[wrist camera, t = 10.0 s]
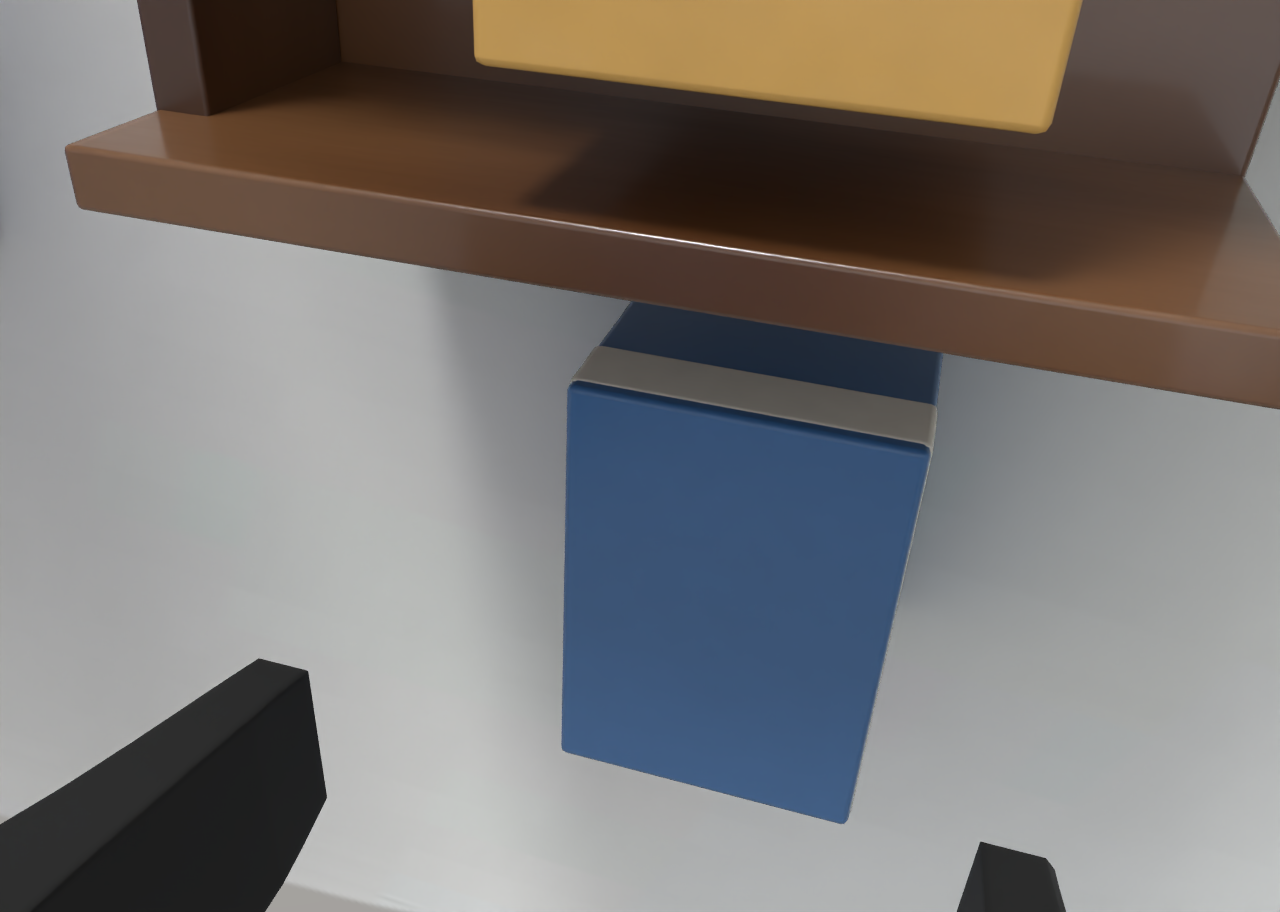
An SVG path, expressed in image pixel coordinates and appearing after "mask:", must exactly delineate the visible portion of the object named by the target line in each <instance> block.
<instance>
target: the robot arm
mask: <svg viewBox="0 0 1280 912" xmlns="http://www.w3.org/2000/svg"><path fill="white" fill-rule="evenodd" d="M326 799H327V795H326V788H325V781H324V775H323V768H322V761H321V755H320V748H319V741H318V735H317V728H316V721H315V714H314V708H313V701H312V694H311V688H310V681H309V674H308V671H306V670H302V669H298V668H295V667H291V666H287V665H283V664H279V663H275V662H271V661H267V660H263V659H257V660H256V661H254V662H253V663H251V664H249V665H248V666H246V667H245V668H243V669H242V670H240V671H239V672H237V673H236V674H234V675H233V676H231V677H229V678H228V679H226V680H225V681H223V682H222V683H220V684H219V685H217V686H216V687H214V688H213V689H211V690H210V691H208V692H207V693H205V694H204V695H202V696H201V697H199V698H198V699H196V700H195V701H193V702H192V703H190V704H189V705H187V706H186V707H184V708H183V709H181V710H180V711H178V712H177V713H175V714H174V715H172V716H171V717H169V718H168V719H166V720H165V721H163V722H162V723H160V724H159V725H157V726H156V727H154V728H153V729H151V730H150V731H148V732H147V733H145V734H144V735H142V736H141V737H139V738H138V739H136V740H135V741H133V742H132V743H130V744H129V745H127V746H126V747H124V748H122V749H121V750H119V751H118V752H116V753H115V754H113V755H112V756H110V757H109V758H107V759H105V760H104V761H102V762H101V763H99V764H98V765H96V766H95V767H93V768H91V769H90V770H88V771H87V772H85V773H84V774H82V775H81V776H79V777H78V778H76V779H74V780H73V781H71V782H70V783H68V784H67V785H65V786H63V787H62V788H60V789H59V790H57V791H55V792H54V793H52V794H50V795H49V796H47V797H45V798H44V799H42V800H40V801H39V802H37V803H35V804H34V805H32V806H30V807H29V808H27V809H25V810H24V811H22V812H20V813H19V814H17V815H15V816H14V817H12V818H10V819H9V820H7V821H5V822H4V823H2V824H0V912H265V911H266V909H267V908H268V906H269V905H270V903H271V902H272V900H273V899H274V897H275V895H276V894H277V892H278V891H279V889H280V888H281V886H282V885H283V883H284V881H285V879H286V877H287V876H288V874H289V872H290V870H291V868H292V866H293V864H294V862H295V860H296V859H297V857H298V855H299V853H300V851H301V849H302V847H303V845H304V843H305V841H306V839H307V837H308V835H309V833H310V831H311V829H312V827H313V825H314V823H315V821H316V819H317V817H318V815H319V813H320V811H321V809H322V807H323V805H324V803H325V801H326ZM957 912H1066V910H1065V907H1064V903H1063V900H1062V896H1061V892H1060V889H1059V885H1058V881H1057V877H1056V873H1055V869H1054V868H1053V867H1052V866H1051V864H1050V863H1049V862H1048V860H1047V859H1046V858H1043V857H1039V856H1035V855H1031V854H1027V853H1023V852H1019V851H1015V850H1011V849H1007V848H1003V847H999V846H995V845H991V844H988V843H984V842H980V844H979V847H978V850H977V853H976V856H975V859H974V862H973V865H972V868H971V871H970V874H969V877H968V880H967V883H966V886H965V889H964V892H963V895H962V898H961V901H960V904H959V907H958V910H957Z"/></svg>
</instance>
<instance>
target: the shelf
mask: <svg viewBox="0 0 1280 912" xmlns="http://www.w3.org/2000/svg"><path fill="white" fill-rule="evenodd" d="M137 3H138V9H139V14H140V20H141V25H142V30H143V36H144V41H145V47H146V52H147V58H148V63H149V69H150V74H151V80H152V85H153V91H154V96H155V102H156V107H157V111H155V112H153V113H150V114H147V115H145V116H142V117H140V118H137V119H134V120H132V121H129V122H126V123H124V124H121V125H118V126H116V127H113V128H111V129H108V130H105V131H103V132H100V133H97V134H95V135H92V136H89V137H87V138H84V139H82V140H79V141H76V142H74V143H71V144H68V145H67V146H66V147H65V154H66V159H67V163H68V167H69V172H70V176H71V180H72V185H73V189H74V193H75V197H76V202H77V205H78V206H79V208H81V209H84V210H90V211H96V212H102V213H108V214H114V215H120V216H126V217H132V218H138V219H144V220H150V221H156V222H162V223H168V224H174V225H180V226H186V227H192V228H198V229H204V230H210V231H216V232H222V233H228V234H234V235H240V236H246V237H252V238H258V239H264V240H270V241H276V242H282V243H288V244H294V245H300V246H305V247H311V248H317V249H323V250H329V251H335V252H341V253H347V254H353V255H359V256H365V257H371V258H377V259H383V260H389V261H395V262H401V263H407V264H413V265H419V266H425V267H431V268H437V269H443V270H449V271H455V272H461V273H467V274H473V275H479V276H485V277H491V278H497V279H503V280H509V281H515V282H521V283H527V284H533V285H539V286H545V287H550V288H556V289H562V290H568V291H574V292H580V293H586V294H592V295H598V296H604V297H610V298H616V299H622V300H628V301H634V302H640V303H646V304H652V305H658V306H664V307H670V308H676V309H682V310H688V311H694V312H700V313H706V314H712V315H718V316H724V317H730V318H736V319H742V320H748V321H754V322H760V323H766V324H772V325H778V326H784V327H790V328H795V329H801V330H807V331H813V332H819V333H825V334H831V335H837V336H843V337H849V338H855V339H861V340H867V341H873V342H879V343H885V344H891V345H897V346H903V347H909V348H915V349H921V350H927V351H933V352H939V353H945V354H951V355H957V356H963V357H969V358H975V359H981V360H987V361H993V362H999V363H1005V364H1011V365H1017V366H1023V367H1029V368H1035V369H1040V370H1046V371H1052V372H1058V373H1064V374H1070V375H1076V376H1082V377H1088V378H1094V379H1100V380H1106V381H1112V382H1118V383H1124V384H1130V385H1136V386H1142V387H1148V388H1154V389H1160V390H1166V391H1172V392H1178V393H1184V394H1190V395H1196V396H1202V397H1208V398H1214V399H1220V400H1226V401H1232V402H1238V403H1244V404H1250V405H1256V406H1262V407H1268V408H1274V409H1280V236H1279V234H1278V232H1277V231H1276V229H1275V228H1274V226H1273V224H1272V223H1271V221H1270V219H1269V218H1268V216H1267V214H1266V213H1265V211H1264V209H1263V208H1262V206H1261V204H1260V203H1259V201H1258V199H1257V198H1256V196H1255V194H1254V193H1253V191H1252V189H1251V188H1250V186H1249V184H1248V183H1247V181H1246V179H1245V176H1246V173H1247V170H1248V167H1249V164H1250V162H1251V159H1252V156H1253V153H1254V150H1255V147H1256V145H1257V142H1258V139H1259V136H1260V133H1261V130H1262V128H1263V125H1264V122H1265V119H1266V116H1267V113H1268V111H1269V108H1270V105H1271V102H1272V99H1273V96H1274V94H1275V91H1276V88H1277V85H1278V82H1279V80H1280V0H1083V2H1082V6H1081V10H1080V14H1079V18H1078V21H1077V25H1076V29H1075V33H1074V37H1073V41H1072V45H1071V49H1070V53H1069V57H1068V61H1067V65H1066V69H1065V73H1064V77H1063V81H1062V85H1061V89H1060V93H1059V97H1058V101H1057V105H1056V109H1055V113H1054V117H1053V121H1052V124H1051V125H1050V127H1049V128H1048V130H1047V131H1046V132H1042V133H1039V134H1031V133H1023V132H1015V131H1007V130H999V129H991V128H983V127H975V126H967V125H959V124H950V123H942V122H934V121H926V120H918V119H910V118H902V117H894V116H886V115H878V114H870V113H862V112H854V111H846V110H838V109H830V108H822V107H813V106H805V105H797V104H789V103H781V102H773V101H765V100H757V99H749V98H741V97H733V96H725V95H717V94H709V93H701V92H693V91H684V90H676V89H668V88H660V87H652V86H644V85H636V84H628V83H620V82H612V81H604V80H596V79H588V78H580V77H572V76H564V75H556V74H547V73H539V72H531V71H523V70H515V69H507V68H499V67H491V66H485V65H483V64H481V63H479V62H476V58H475V55H474V26H473V0H137Z"/></svg>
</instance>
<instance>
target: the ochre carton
mask: <svg viewBox="0 0 1280 912" xmlns="http://www.w3.org/2000/svg"><path fill="white" fill-rule="evenodd" d="M1082 2H1083V0H473V26H474V55H475V58H476V62H479V63H481V64H483V65H485V66H491V67H499V68H507V69H515V70H523V71H531V72H539V73H547V74H556V75H564V76H572V77H580V78H588V79H596V80H604V81H612V82H620V83H628V84H636V85H644V86H652V87H660V88H668V89H676V90H684V91H693V92H701V93H709V94H717V95H725V96H733V97H741V98H749V99H757V100H765V101H773V102H781V103H789V104H797V105H805V106H813V107H822V108H830V109H838V110H846V111H854V112H862V113H870V114H878V115H886V116H894V117H902V118H910V119H918V120H926V121H934V122H942V123H950V124H959V125H967V126H975V127H983V128H991V129H999V130H1007V131H1015V132H1023V133H1031V134H1039V133H1042V132H1046V131H1047V130H1048V128H1049V127H1050V125H1051V124H1052V121H1053V117H1054V113H1055V109H1056V105H1057V101H1058V97H1059V93H1060V89H1061V85H1062V81H1063V77H1064V73H1065V69H1066V65H1067V61H1068V57H1069V53H1070V49H1071V45H1072V41H1073V37H1074V33H1075V29H1076V25H1077V21H1078V18H1079V14H1080V10H1081V6H1082Z"/></svg>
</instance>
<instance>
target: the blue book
mask: <svg viewBox="0 0 1280 912" xmlns="http://www.w3.org/2000/svg"><path fill="white" fill-rule="evenodd" d="M942 359H943V353H939V352H933V351H927V350H921V349H915V348H909V347H903V346H897V345H891V344H885V343H879V342H873V341H867V340H861V339H855V338H849V337H843V336H837V335H831V334H825V333H819V332H813V331H807V330H801V329H795V328H790V327H784V326H778V325H772V324H766V323H760V322H754V321H748V320H742V319H736V318H730V317H724V316H718V315H712V314H706V313H700V312H694V311H688V310H682V309H676V308H670V307H664V306H658V305H652V304H646V303H640V302H634V301H631V303H630V304H629V305H628V307H627V308H626V309H625V311H624V312H623V313H622V315H621V316H620V318H619V319H618V320H617V322H616V323H615V324H614V326H613V327H612V328H611V330H610V331H609V332H608V334H607V335H606V336H605V338H604V339H603V340H602V342H601V343H600V345H599V346H597V347H595V348H594V349H593V351H592V352H591V353H590V355H589V356H588V357H587V359H586V360H585V361H584V363H583V364H582V365H581V367H580V368H579V369H578V371H577V372H576V373H575V375H574V376H573V377H572V379H571V381H570V385H569V387H568V389H567V444H566V504H565V564H564V623H563V683H562V743H561V745H562V750H563V751H565V752H567V753H571V754H575V755H579V756H583V757H586V758H590V759H594V760H598V761H602V762H606V763H609V764H613V765H617V766H621V767H625V768H629V769H632V770H636V771H640V772H644V773H648V774H652V775H655V776H659V777H663V778H667V779H671V780H674V781H678V782H682V783H686V784H690V785H694V786H697V787H701V788H705V789H709V790H713V791H717V792H720V793H724V794H728V795H732V796H736V797H740V798H743V799H747V800H751V801H755V802H759V803H763V804H766V805H770V806H774V807H778V808H782V809H785V810H789V811H793V812H797V813H801V814H805V815H808V816H812V817H816V818H820V819H824V820H828V821H831V822H835V823H839V824H844V823H845V822H846V821H847V820H848V817H849V813H850V812H851V808H852V804H853V799H854V795H855V791H856V786H857V782H858V778H859V773H860V769H861V764H862V760H863V756H864V751H865V747H866V743H867V738H868V734H869V729H870V725H871V721H872V716H873V712H874V707H875V703H876V699H877V694H878V690H879V686H880V681H881V677H882V672H883V668H884V664H885V659H886V655H887V651H888V646H889V642H890V637H891V633H892V629H893V624H894V620H895V616H896V611H897V607H898V602H899V598H900V594H901V589H902V585H903V581H904V576H905V572H906V567H907V563H908V559H909V554H910V550H911V545H912V541H913V537H914V532H915V528H916V524H917V519H918V515H919V510H920V506H921V502H922V497H923V493H924V489H925V484H926V480H927V475H928V471H929V467H930V462H931V458H932V454H933V449H934V440H935V432H936V423H937V415H938V412H937V400H938V391H939V383H940V375H941V367H942Z"/></svg>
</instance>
